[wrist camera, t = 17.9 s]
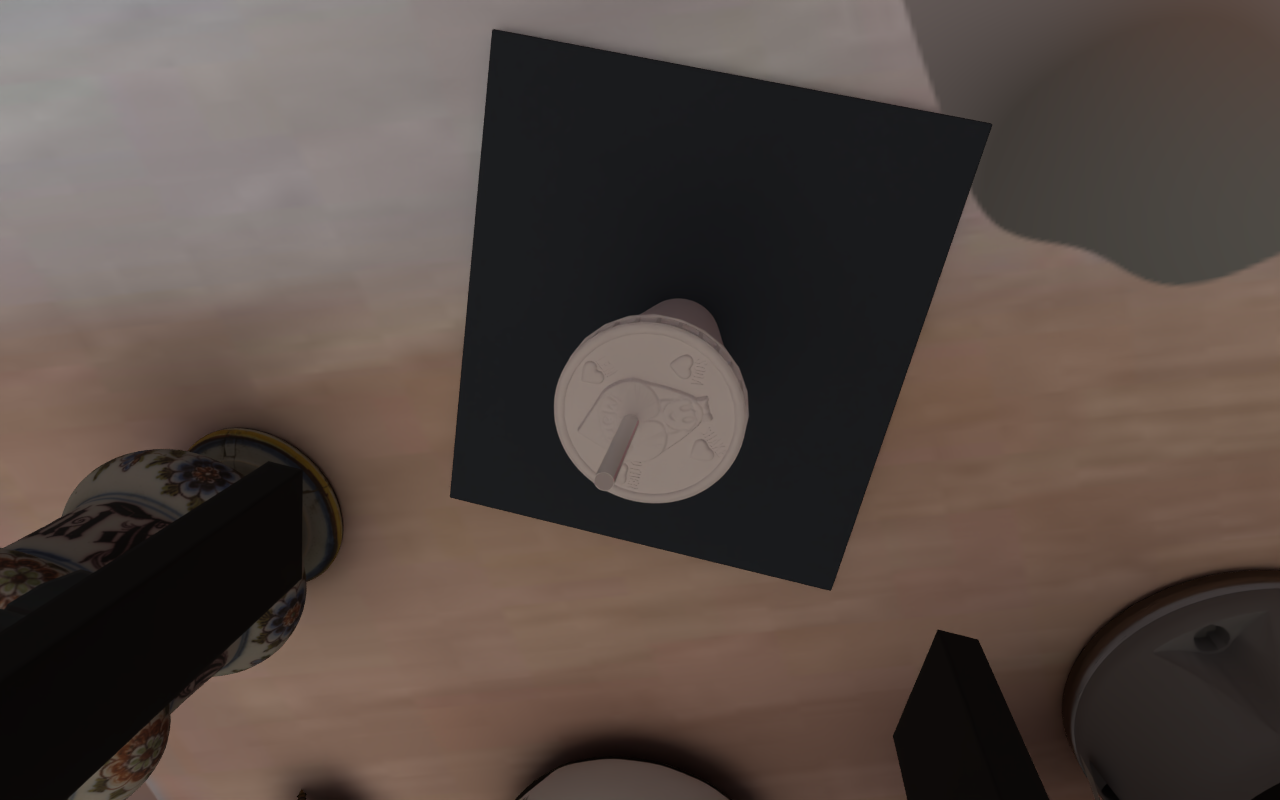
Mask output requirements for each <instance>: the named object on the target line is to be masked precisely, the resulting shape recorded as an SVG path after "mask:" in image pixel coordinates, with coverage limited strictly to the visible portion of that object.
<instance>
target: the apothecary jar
mask: <svg viewBox="0 0 1280 800" xmlns="http://www.w3.org/2000/svg"><path fill="white" fill-rule="evenodd" d="M268 461H270V462H274V463H278V464H282V465H286V466H290V467H294V468H298V469H302V470H303V506H302V579H301V580H300V581H299V582H298V583H297V584H296V585H295V586H294V587H292V588H291V589H290V590H289V591H288V592H287V593H286V594H285V595H284V596H283V597H282V598H281V599H280V600H279V601H278V602H277V603H275V604H274V605H273V606H272V607H271V608H270V609H269V610H268V611H267V612H266V613H265V614H264V615H263V616H262V617H261V618H260V619H258V620H257V621H256V622H255V623H254V624H253V625H252V626H251V627H250V628H249V629H248V630H247V631H246V632H245V633H244V634H243V635H241V636H240V637H239V638H238V639H237V640H236V641H235V642H234V643H233V644H232V645H231V646H230V647H229V648H228V649H227V650H225V651H224V652H223V653H222V654H221V655H220V656H219V657H218V658H217V659H216V660H215V661H214V662H213V663H212V664H211V665H210V666H208V667H207V668H206V669H205V670H204V671H203V672H202V673H201V674H200V675H199V676H198V677H197V678H196V679H195V680H194V681H193V682H191V683H190V684H189V685H188V686H187V687H186V688H185V689H184V690H183V691H182V692H181V693H180V694H179V695H178V696H177V697H176V698H174V699H173V700H172V701H171V702H170V703H169V704H168V705H167V706H166V707H165V708H164V709H163V710H162V711H161V712H160V713H159V714H157V715H156V716H155V717H154V718H153V719H152V720H151V721H150V722H149V723H148V724H147V725H146V726H145V727H144V728H143V729H141V730H140V731H139V732H138V733H137V734H136V735H135V736H134V737H133V738H132V739H131V740H130V741H129V742H128V743H127V744H126V745H124V746H123V747H122V748H121V749H120V750H119V751H118V752H117V753H116V754H115V755H114V756H113V757H112V758H111V759H110V760H109V761H107V762H106V763H105V764H104V765H103V766H102V767H101V768H100V769H99V770H98V771H97V772H96V773H95V774H94V775H93V776H92V777H90V778H89V779H88V780H87V781H86V782H85V783H84V784H83V785H82V786H81V787H80V788H79V789H78V790H77V791H76V792H75V793H73V794H72V795H71V796H70V797H69V798H68V799H67V800H125V799H126V798H128V797H129V796H131V795H132V794H133V793H134V792H135V791H136V790H137V789H138V788H139V787H140V786H141V785H142V784H143V783H144V782H145V781H146V780H147V778H148V777H149V776H150V775H151V773H152V772H153V771H154V769H155V768H156V766H157V764H158V763H159V761H160V759H161V757H162V755H163V753H164V750H165V748H166V744H167V741H168V736H169V731H170V722H171V719H170V714H171V713H172V712H173V711H174V710H175V709H177V708H178V707H179V706H180V705H181V704H182V703H183V702H184V701H185V700H186V699H187V698H188V697H190V696H191V695H192V694H193V693H194V692H195V691H196V690H197V689H199V688H200V687H201V686H202V685H203V684H204V683H205V682H207V681H208V680H209V679H210V678H211V677H214V676H223V675H228V674H233V673H237V672H240V671H243V670H246V669H248V668H251V667H253V666H255V665H257V664H259V663H261V662H262V661H264V660H266V659H267V658H269V657H270V656H271V655H273V654H274V653H275V652H276V651H278V650H279V649H280V648H281V647H282V646H283V644H284V643H285V642H286V641H287V639H288V638H289V637H290V635H291V634H292V632H293V631H294V629H295V628H296V626H297V624H298V622H299V620H300V617H301V615H302V612H303V609H304V604H305V599H306V582H307V581H310V580H312V579H314V578H316V577H318V576H319V575H321V574H322V573H323V572H324V571H326V570H327V569H328V568H329V566H330V565H331V564H332V562H333V561H334V559H335V558H336V556H337V554H338V551H339V549H340V545H341V541H342V534H343V525H342V516H341V512H340V507H339V504H338V501H337V498H336V496H335V494H334V492H333V490H332V488H331V486H330V484H329V482H328V481H327V479H326V478H325V476H324V475H323V474H322V473H321V471H320V470H319V469H318V468H317V467H316V465H315V464H314V463H313V462H312V461H311V460H309V459H308V458H307V457H306V456H305V455H304V454H303V453H301V452H300V451H299V450H298V449H296V448H295V447H293V446H292V445H290V444H289V443H287V442H285V441H283V440H281V439H279V438H277V437H275V436H273V435H270V434H267V433H264V432H260V431H257V430H251V429H245V428H230V429H223V430H219V431H216V432H213V433H210V434H208V435H206V436H205V437H203V438H201V439H200V440H199V441H197V442H196V443H195V444H194V445H193V446H192V447H191V448H190V449H189V450H188V451H182V450H173V449H153V450H144V451H138V452H134V453H129V454H126V455H123V456H120V457H117V458H115V459H113V460H110V461H108V462H106V463H105V464H103V465H101V466H100V467H98V468H97V469H95V470H94V471H93V472H91V473H90V474H89V475H88V476H87V477H86V478H85V479H84V480H83V481H82V482H81V483H80V484H79V485H78V486H77V487H76V489H75V490H74V491H73V493H72V494H71V496H70V498H69V499H68V501H67V503H66V506H65V508H64V511H63V514H62V517H61V518H59V519H57V520H55V521H53V522H52V523H50V524H48V525H46V526H45V527H43V528H41V529H39V530H37V531H35V532H33V533H31V534H29V535H27V536H25V537H23V538H22V539H20V540H18V541H16V542H14V543H12V544H10V545H8V546H6V547H4V548H0V609H5V608H6V606H7V604H8V603H10V602H12V601H13V600H15V599H17V598H18V597H20V596H21V595H23V594H25V593H26V592H28V591H30V590H31V589H33V588H35V587H36V586H38V585H40V584H42V583H44V582H47V581H50V580H53V579H55V578H58V577H61V576H64V575H66V574H69V573H72V572H75V571H77V570H80V569H82V570H85V571H89V572H93V573H94V572H95V571H97V570H98V569H100V568H102V567H103V566H105V565H106V564H108V563H109V562H111V561H113V560H114V559H116V558H117V557H119V556H120V555H122V554H124V553H125V552H127V551H128V550H130V549H131V548H133V547H135V546H136V545H138V544H139V543H141V542H142V541H144V540H146V539H147V538H149V537H150V536H152V535H153V534H155V533H157V532H158V531H160V530H161V529H163V528H164V527H166V526H168V525H169V524H171V523H172V522H174V521H175V520H177V519H179V518H180V517H182V516H183V515H185V514H186V513H188V512H189V511H191V510H193V509H194V508H196V507H197V506H199V505H200V504H202V503H204V502H205V501H207V500H208V499H210V498H211V497H213V496H215V495H216V494H218V493H219V492H221V491H222V490H224V489H226V488H227V487H229V486H230V485H232V484H233V483H235V482H237V481H238V480H240V479H241V478H243V477H244V476H246V475H248V474H249V473H251V472H252V471H254V470H255V469H257V468H259V467H260V466H262V465H263V464H265V463H266V462H268Z"/></svg>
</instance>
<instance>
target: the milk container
mask: <svg viewBox="0 0 1280 800" xmlns="http://www.w3.org/2000/svg"><path fill="white" fill-rule="evenodd" d="M516 800H732V799H730V798H729V797H728V796H727V795H725V794H724V793H723V792H721V791H720V790H719V789H717V788H716V787H715V786H713V785H711V784H710V783H708V782H707V781H705V780H703V779H701V778H699V777H697V776H695V775H692V774H690V773H688V772H685V771H683V770H680V769H678V768H675V767H673V766H670V765H666V764H663V763H660V762H655V761H650V760H644V759H636V758H628V757H614V756H610V757H598V758H592V759H586V760H579V761H575V762H571V763H567V764H565V765H562V766H560V767H558V768H556V769H554V770H552V771H550V772H549V773H547V774H545V775H543V776H541V777H540V778H538V779H537V780H535V781H534V782H533V783H532V784H531V785H529V786H528V787H527V788H526V789H525V790H524V791H523V792H522V793H521V794H520V795H519V796H518V797H517V798H516Z"/></svg>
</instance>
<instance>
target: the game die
mask: <svg viewBox="0 0 1280 800" xmlns="http://www.w3.org/2000/svg"><path fill="white" fill-rule="evenodd" d="M297 797H298V800H305V799H306V793H304V792H303V790H302V789H301V791H300V793H299V795H298V796H297Z"/></svg>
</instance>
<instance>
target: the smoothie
mask: <svg viewBox="0 0 1280 800" xmlns="http://www.w3.org/2000/svg"><path fill="white" fill-rule="evenodd" d="M554 417H555V424H556V428H557V432H558V435H559V438H560V441H561V443H562V445H563V447H564V449H565V451H566V453H567V455H568V456H569V458H570V459H571V461H572V462H573V463H574V465H575V466H576V467H577V468H578V469H579V470H580V471H581V472H582V473H583V474H584V475H585V476H586V477H587V478H588V479H589V480H591V481H592V482H593V483H594V484H595V486H596V487H597V488H598V489H600V490H602V491H607V492H610V493H612V494H614V495H616V496H619V497H622V498H624V499H628V500H632V501H637V502H643V503H668V502H674V501H679V500H683V499H686V498H689V497H691V496H694V495H696V494H698V493H700V492H702V491H704V490H706V489H707V488H709V487H710V486H712V485H713V484H714V483H715V482H717V481H718V480H719V479H720V478H721V477H722V476H723V475H724V474H725V473H726V472H727V470H728V469H729V468H730V467H731V465H732V464H733V462H734V461H735V459H736V457H737V455H738V453H739V451H740V448H741V446H742V442H743V439H744V435H745V430H746V426H747V422H748V418H749V409H748V392H747V389H746V386H745V383H744V380H743V377H742V374H741V372H740V369H739V367H738V366H737V364H736V363H735V361H734V360H733V358H732V357H731V355H730V354H729V353H728V351H727V350H726V348H725V347H724V345H723V342H722V339H721V335H720V332H719V329H718V326H717V323H716V321H715V319H714V318H713V316H712V315H711V313H710V312H709V311H708V310H707V309H706V308H704V307H703V306H702V305H700V304H698V303H696V302H694V301H691V300H687V299H680V298H676V299H669V300H665V301H663V302H660V303H658V304H657V305H655V306H653V307H652V308H650V309H648V310H647V311H645V312H643V313H641V314H640V315H632V316H627V317H624V318H621V319H618V320H615V321H612V322H610V323H607V324H605V325H603V326H602V327H600V328H599V329H597V330H596V331H595V332H593V333H592V334H590V335H589V336H587V337H586V338H585V339H584V340H583V341H582V343H581V344H580V345H579V346H578V347H577V349H576V350H575V351H574V352H573V354H572V355H571V356H570V358H569V361H568V362H567V364H566V365H565V367H564V369H563V371H562V373H561V375H560V378H559V380H558V384H557V387H556V392H555V398H554Z"/></svg>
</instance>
